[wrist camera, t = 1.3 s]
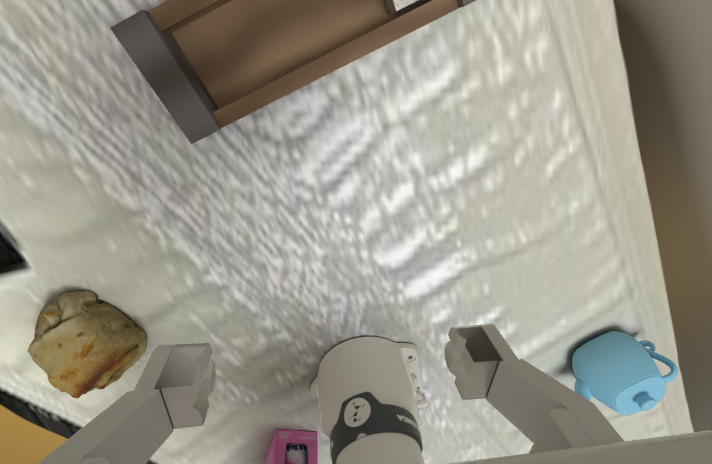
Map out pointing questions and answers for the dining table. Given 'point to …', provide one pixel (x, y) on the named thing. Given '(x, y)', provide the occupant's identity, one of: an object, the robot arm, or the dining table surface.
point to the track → (255, 49)
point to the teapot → (620, 372)
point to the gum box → (293, 448)
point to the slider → (397, 5)
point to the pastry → (85, 342)
